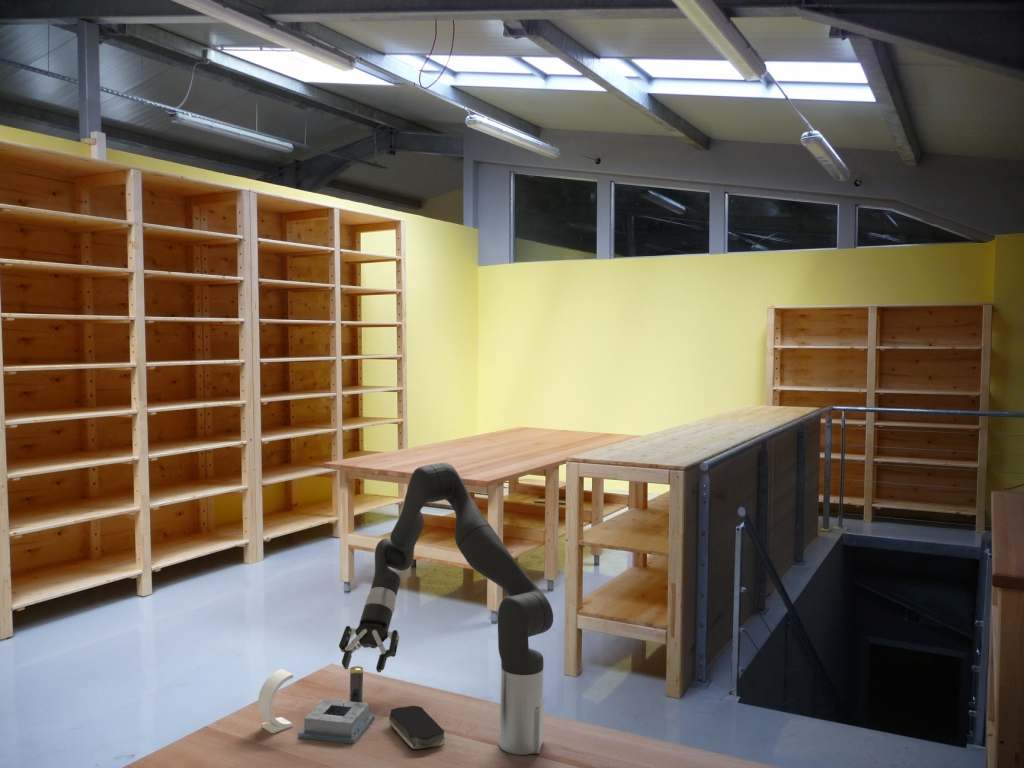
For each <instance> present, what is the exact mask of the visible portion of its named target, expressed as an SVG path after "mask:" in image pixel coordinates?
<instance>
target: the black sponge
mask: <svg viewBox="0 0 1024 768" xmlns="http://www.w3.org/2000/svg"><path fill="white" fill-rule="evenodd" d="M388 722H389V725H390V726H391V727H392V728H393V730H395V731H396V733H397V734H398V735H399V736H400V737H401V738H402V739H403V740H404V741H405V743H406V744H407V745H408V746H409V747H410V748H411V749H414V750H415V749H417V750H418V749H426V748H432V747H441V746H443V745H444V744H445V730H444V728H442V727H441V726H440V724H438V723H437V721H435V720H434V719H433V718H432V716H430V715H429V714H428V713H427V712H426V710H424V708H423V707H422V706H418V705H409V706H402V707H401V706H399V707H395V708H392V709H390V712H389V719H388Z"/></svg>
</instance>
